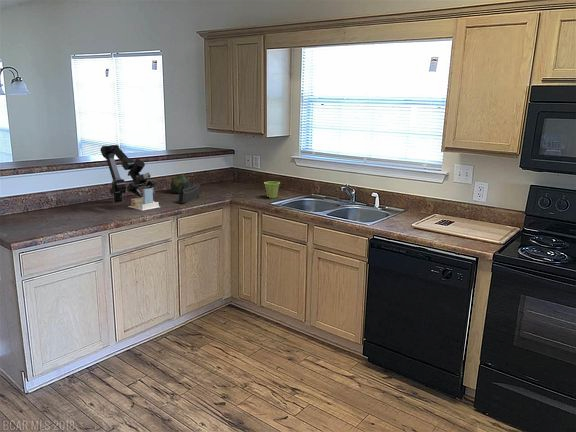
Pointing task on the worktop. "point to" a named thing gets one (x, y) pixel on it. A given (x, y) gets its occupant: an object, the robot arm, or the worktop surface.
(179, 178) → the squash
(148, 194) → the blue rectangular block
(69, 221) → the worktop surface
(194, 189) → the magazine
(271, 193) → the plant pot
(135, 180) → the robot arm
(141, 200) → the offcut stack
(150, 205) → the rack
